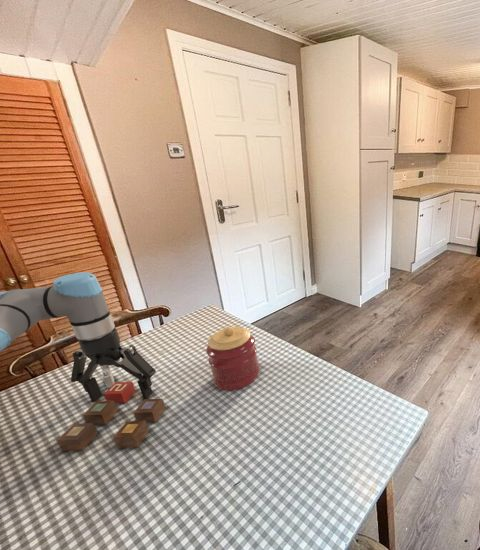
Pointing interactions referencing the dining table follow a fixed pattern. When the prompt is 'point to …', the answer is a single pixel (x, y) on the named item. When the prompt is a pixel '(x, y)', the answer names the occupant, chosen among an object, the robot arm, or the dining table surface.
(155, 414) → the right word block
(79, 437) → the word block
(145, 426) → the right word block
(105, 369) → the lighter
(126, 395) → the red letter cube
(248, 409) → the dining table surface
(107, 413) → the left word block
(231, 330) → the kitchen canister
